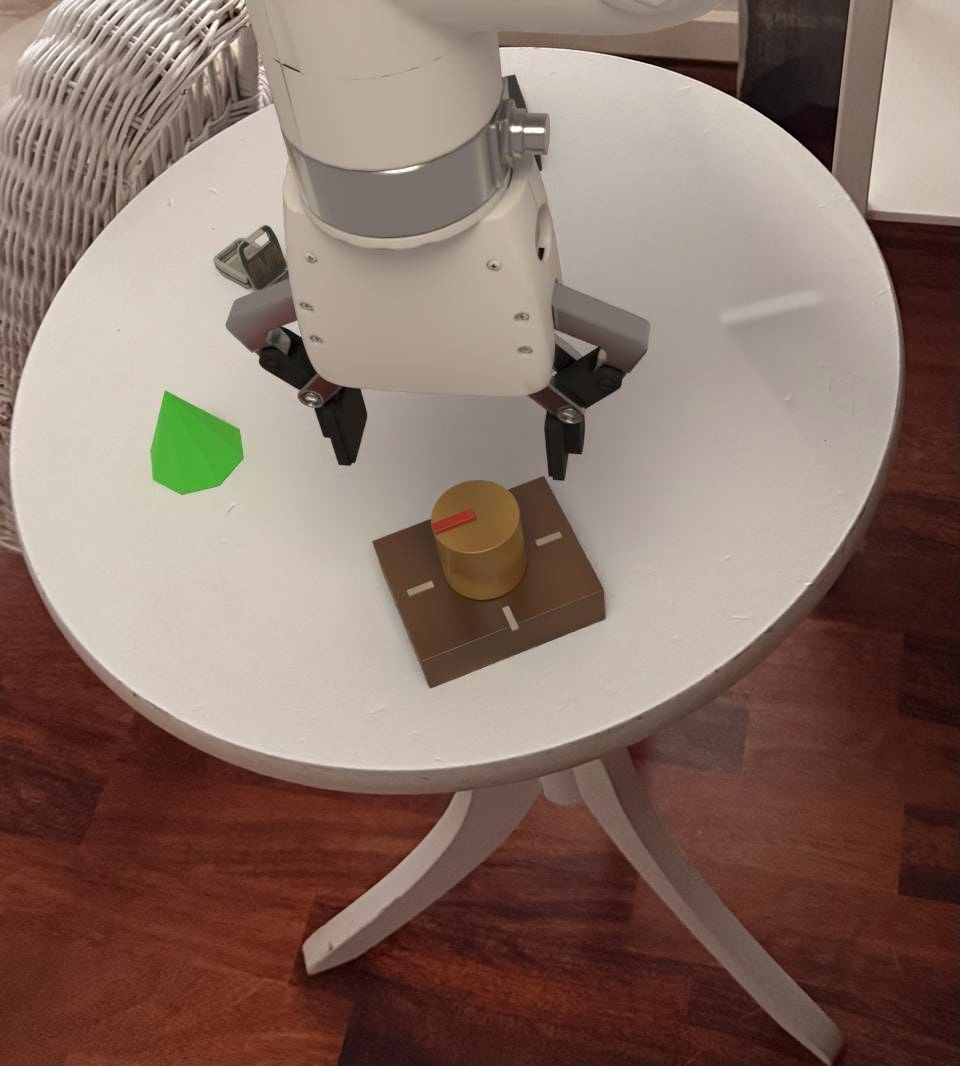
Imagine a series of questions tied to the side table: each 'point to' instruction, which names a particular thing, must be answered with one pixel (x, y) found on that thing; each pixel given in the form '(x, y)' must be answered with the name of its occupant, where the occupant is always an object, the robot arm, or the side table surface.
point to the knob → (479, 539)
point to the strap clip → (253, 261)
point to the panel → (501, 623)
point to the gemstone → (192, 447)
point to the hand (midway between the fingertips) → (456, 448)
